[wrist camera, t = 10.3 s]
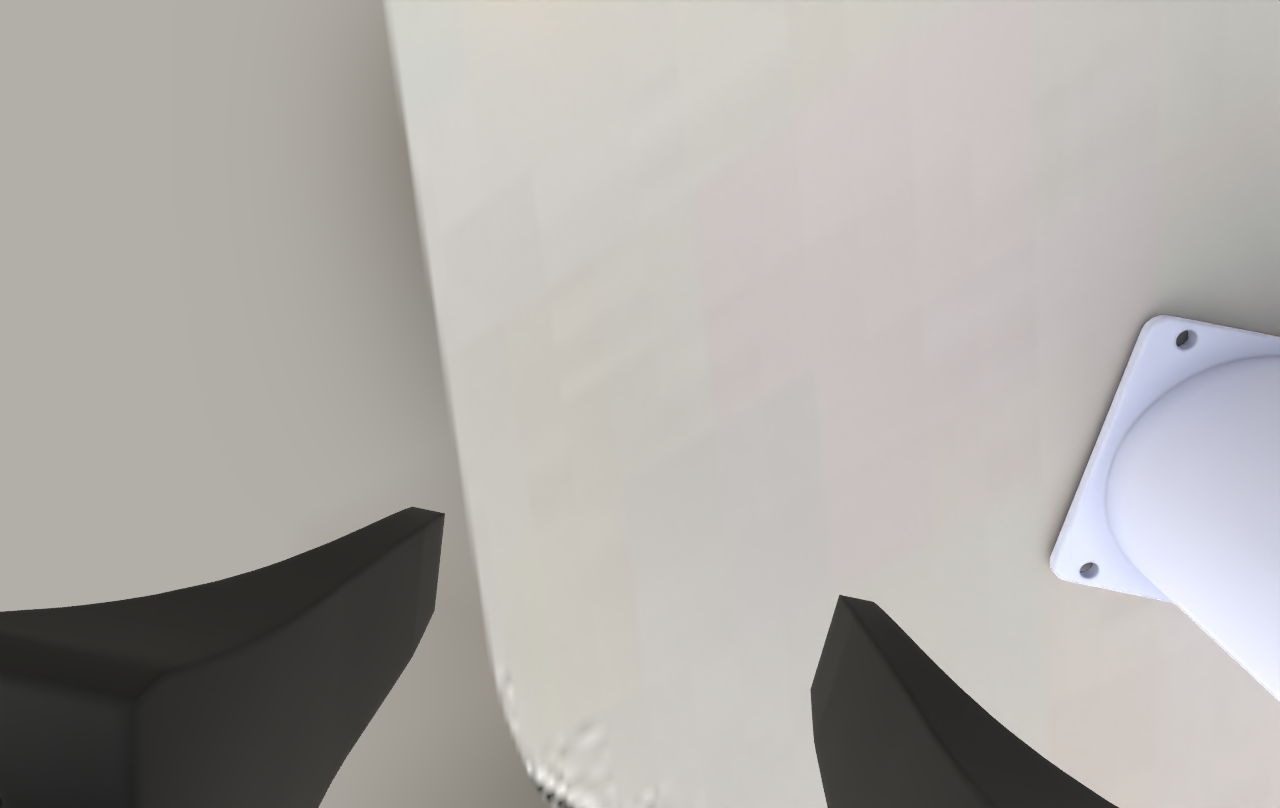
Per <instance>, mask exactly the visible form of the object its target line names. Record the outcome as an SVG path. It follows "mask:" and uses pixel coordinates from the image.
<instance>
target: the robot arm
mask: <svg viewBox="0 0 1280 808" xmlns="http://www.w3.org/2000/svg"><path fill="white" fill-rule="evenodd" d="M1185 330H1187V331H1188V333H1189V334H1188V339H1187V340H1186V342H1185V343H1184V344H1182V345H1180V346H1177V344H1176V339H1177V337H1178V335H1179V334H1180V333H1181V332H1183V331H1185ZM444 515H445V514H444V513H440V512H435V511H430V510H425V509H420V508H416V507H410V508H407V509H404V510H402V511H400V512H397V513H395V514H393V515H390V516H388V517H386V518H384V519H381V520H379V521H377V522H375V523H373V524H370V525H368V526H366V527H364V528H362V529H359V530H357V531H355V532H352V533H350V534H348V535H346V536H344V537H341V538H339V539H337V540H335V541H332V542H330V543H327V544H325V545H322V546H320V547H317V548H315V549H312V550H309V551H307V552H305V553H302V554H299V555H297V556H294V557H291V558H289V559H286V560H284V561H281V562H278V563H275V564H273V565H270V566H267V567H263V568H261V569H257V570H255V571H251V572H247V573H244V574H240V575H237V576H234V577H230V578H227V579H223V580H220V581H215V582H211V583H207V584H202V585H198V586H193V587H188V588H184V589H179V590H175V591H170V592H165V593H161V594H156V595H150V596H145V597H139V598H132V599H126V600H120V601H112V602H105V603H97V604H89V605H81V606H71V607H62V608H50V609H49V608H48V609H34V610H20V611H5V612H0V808H318V807H319V805H320V803H321V801H322V799H323V797H324V795H325V793H326V792H327V789H328V788H329V786H330V784H331V782H332V780H333V779H334V777H335V775H336V774H337V772H338V770H339V769H340V767H341V765H342V764H343V762H344V760H345V759H346V757H347V755H348V754H349V752H350V751H351V749H352V748H353V746H354V745H355V743H356V742H357V740H358V739H359V737H360V736H361V734H362V733H363V731H364V730H365V728H366V727H367V725H368V724H369V722H370V721H371V719H372V717H373V716H374V715H375V713H376V711H377V710H378V708H379V707H380V705H381V704H382V703H383V701H384V699H385V698H386V696H387V695H388V693H389V692H390V690H391V689H392V687H393V686H394V684H395V683H396V681H397V680H398V678H399V677H400V675H401V674H402V672H403V670H404V669H405V667H406V666H407V664H408V663H409V661H410V659H411V658H412V656H413V654H414V652H415V650H416V648H417V646H418V644H419V642H420V640H421V638H422V636H423V633H424V632H425V630H426V627H427V625H428V623H429V621H430V619H431V617H432V614H433V612H434V609H435V600H436V591H437V582H438V572H439V563H440V554H441V544H442V535H443V526H444ZM1090 562H1092V566H1091V567H1090V569H1088V570H1086V571H1080V568H1081V567H1082V566H1083V565H1084V564H1086V563H1090ZM1049 565H1050V568H1051V570H1052V571H1053V572H1054V573H1055V574H1056V575H1057V576H1058V577H1059V578H1060V579H1062V580H1065V581H1069V582H1074V583H1079V584H1084V585H1088V586H1093V587H1098V588H1103V589H1108V590H1113V591H1118V592H1123V593H1128V594H1133V595H1138V596H1142V597H1147V598H1152V599H1157V600H1162V601H1167V602H1172V603H1175V604H1176V605H1177V606H1178V607H1179V608H1180V609H1181V610H1182V611H1183V612H1184V613H1185V614H1186V615H1187V616H1189V617H1190V618H1191V619H1192V620H1193V621H1194V622H1195V623H1196V624H1197V625H1198V626H1199V627H1200V628H1201V629H1202V630H1203V631H1205V632H1206V633H1207V634H1208V635H1209V636H1210V637H1211V638H1212V639H1213V640H1214V641H1215V642H1216V643H1217V644H1218V645H1220V646H1221V647H1222V648H1223V649H1224V650H1225V651H1226V652H1227V653H1228V654H1229V655H1230V656H1231V657H1232V658H1233V659H1234V660H1236V661H1237V662H1238V663H1239V664H1240V665H1241V666H1242V667H1243V668H1244V669H1245V670H1246V671H1247V672H1248V673H1249V674H1251V675H1252V676H1253V677H1254V678H1255V679H1256V680H1257V681H1258V682H1259V683H1260V684H1261V685H1262V686H1263V687H1264V688H1265V689H1267V690H1268V691H1269V692H1270V693H1271V694H1272V695H1273V696H1274V697H1275V698H1276V699H1277V700H1278V701H1279V702H1280V337H1279V336H1274V335H1269V334H1263V333H1258V332H1253V331H1248V330H1243V329H1237V328H1232V327H1227V326H1222V325H1217V324H1211V323H1206V322H1201V321H1196V320H1190V319H1185V318H1180V317H1175V316H1170V315H1159V316H1156V317H1153V318H1151V319H1150V320H1149V321H1148V322H1146V323H1145V325H1144V326H1143V328H1142V330H1141V332H1140V334H1139V337H1138V339H1137V342H1136V344H1135V347H1134V349H1133V352H1132V354H1131V357H1130V359H1129V362H1128V364H1127V367H1126V369H1125V372H1124V374H1123V377H1122V379H1121V382H1120V384H1119V387H1118V389H1117V392H1116V394H1115V397H1114V399H1113V402H1112V404H1111V407H1110V409H1109V412H1108V414H1107V417H1106V419H1105V422H1104V424H1103V427H1102V429H1101V432H1100V434H1099V437H1098V439H1097V442H1096V444H1095V447H1094V449H1093V452H1092V454H1091V457H1090V459H1089V462H1088V464H1087V467H1086V469H1085V472H1084V474H1083V477H1082V479H1081V482H1080V484H1079V487H1078V489H1077V492H1076V494H1075V497H1074V499H1073V502H1072V504H1071V507H1070V509H1069V512H1068V514H1067V517H1066V519H1065V522H1064V524H1063V527H1062V529H1061V532H1060V534H1059V537H1058V539H1057V542H1056V544H1055V547H1054V549H1053V552H1052V554H1051V556H1050V561H1049ZM811 704H812V720H813V732H814V743H815V748H816V753H817V758H818V763H819V768H820V773H821V778H822V783H823V788H824V792H825V797H826V802H827V806H828V808H1118V807H1117V806H1115V805H1113V804H1112V803H1110V802H1108V801H1107V800H1105V799H1104V798H1102V797H1101V796H1099V795H1098V794H1096V793H1095V792H1093V791H1092V790H1090V789H1089V788H1087V787H1086V786H1084V785H1083V784H1081V783H1080V782H1078V781H1077V780H1075V779H1074V778H1072V777H1071V776H1069V775H1068V774H1066V773H1065V772H1063V771H1062V770H1060V769H1059V768H1058V767H1056V766H1055V765H1054V764H1052V763H1051V762H1049V761H1048V760H1047V759H1045V758H1044V757H1042V756H1041V755H1040V754H1038V753H1037V752H1036V751H1035V750H1033V749H1032V748H1031V747H1030V746H1028V745H1027V744H1026V743H1024V742H1023V741H1022V740H1021V739H1019V738H1018V737H1017V736H1015V735H1014V734H1013V733H1012V732H1010V731H1009V730H1008V729H1006V728H1005V727H1004V726H1003V725H1002V724H1001V723H999V722H998V721H997V720H996V719H995V718H993V717H992V716H991V715H990V714H989V713H988V712H987V711H985V710H984V709H983V708H982V707H981V706H980V705H979V704H978V703H977V702H975V701H974V700H973V699H972V698H971V697H970V696H969V695H968V694H967V693H965V692H964V691H963V690H962V689H961V688H960V687H959V686H958V685H957V684H956V683H955V682H954V681H953V680H952V679H951V678H950V677H949V676H948V675H946V674H945V673H944V672H943V671H942V670H941V669H940V668H939V667H938V666H937V665H936V664H935V663H934V662H933V661H932V660H931V659H930V658H929V657H928V656H927V655H926V654H925V652H924V651H923V650H922V649H921V648H920V647H919V646H918V645H917V644H916V643H915V642H914V641H913V640H912V639H911V638H910V637H909V636H908V635H907V634H906V633H905V632H904V631H903V630H902V629H901V628H900V627H899V626H898V625H897V624H896V623H895V622H894V621H893V620H892V619H891V618H890V617H889V616H888V615H887V614H886V613H885V612H884V611H883V610H882V609H881V608H880V607H879V606H878V605H877V604H875V603H874V602H871V601H866V600H861V599H857V598H852V597H847V596H842V595H839V598H838V602H837V605H836V608H835V611H834V615H833V618H832V621H831V625H830V628H829V631H828V634H827V638H826V641H825V644H824V647H823V651H822V654H821V657H820V661H819V664H818V667H817V670H816V674H815V677H814V680H813V684H812V687H811Z"/></svg>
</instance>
